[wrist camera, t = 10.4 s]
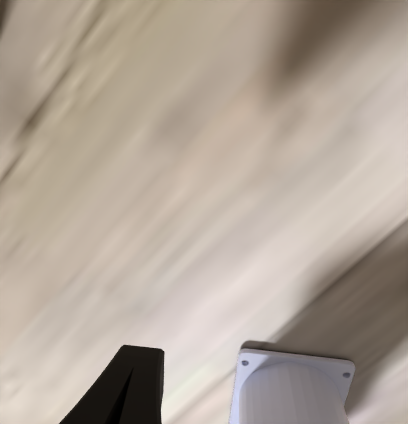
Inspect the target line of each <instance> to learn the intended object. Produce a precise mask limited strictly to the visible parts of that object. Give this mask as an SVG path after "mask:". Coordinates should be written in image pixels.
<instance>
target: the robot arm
mask: <svg viewBox="0 0 408 424" xmlns="http://www.w3.org/2000/svg"><path fill="white" fill-rule="evenodd" d="M243 360H246V361H245V362H244V361H243ZM345 372H347V373H345ZM354 373H355V366H354V363H353V362H352V361H349V360H341V359H333V358H324V357H316V356H307V355H298V354H290V353H281V352H273V351H264V350H255V349H247V348H246V349H241V350H240V351H239V354H238V361H237V368H236V375H235V382H234V389H233V396H232V403H231V411H230V418H229V424H349V421H348V418H347V415H346V412H345V409H344V404H345V401H346V398H347V394H348V391H349V388H350V385H351V382H352V379H353V376H354ZM163 385H164V351H163V350H162V349H158V348H149V347H140V346H131V345H123V346H122V347H121V348H120V349H119V350H118V352H117V353H116V355H115V356H114V358H113V359H112V360H111V362H110V363H109V364H108V366H107V367H106V368H105V370H104V371H103V372H102V374H101V375H100V376H99V377H98V379H97V380H96V381H95V383H94V384H93V385H92V386H91V387H90V389H89V390H88V391H87V392H86V393H85V395H84V396H83V397H82V398H81V399H80V401H79V402H78V403H77V404H76V405H75V407H74V408H73V409H72V410H71V411H70V412H69V413H68V414H67V415H66V416H65V418H64V419H63V420H62V421H61V422H60V423H59V424H162V423H161V404H162V397H163Z"/></svg>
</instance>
